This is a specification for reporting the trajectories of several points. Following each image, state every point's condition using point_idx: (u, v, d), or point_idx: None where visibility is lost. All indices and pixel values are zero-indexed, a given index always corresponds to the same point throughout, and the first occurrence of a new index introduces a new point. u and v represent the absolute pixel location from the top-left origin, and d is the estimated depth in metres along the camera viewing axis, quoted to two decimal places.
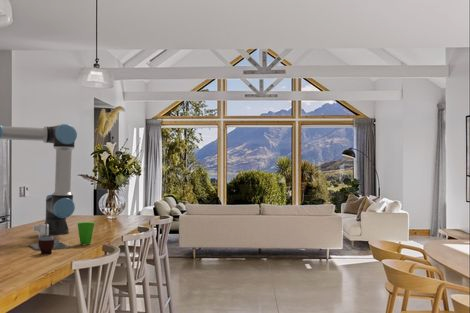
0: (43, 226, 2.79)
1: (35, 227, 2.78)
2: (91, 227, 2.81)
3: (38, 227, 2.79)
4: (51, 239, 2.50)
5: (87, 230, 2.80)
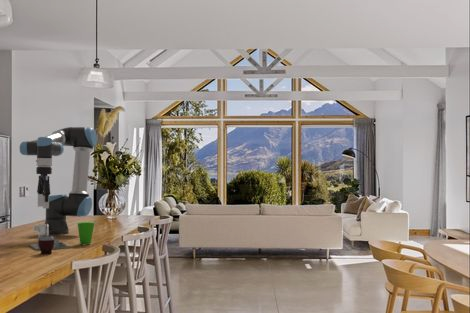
0: (43, 226, 2.79)
1: (35, 227, 2.78)
2: (91, 227, 2.81)
3: (38, 227, 2.79)
4: (51, 239, 2.50)
5: (87, 230, 2.80)
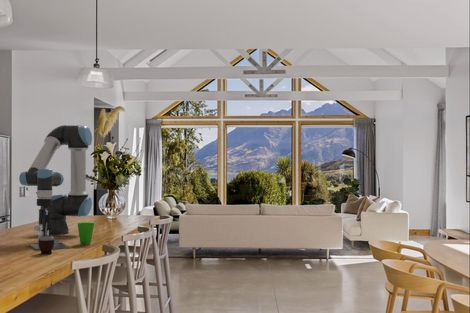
0: None
1: (35, 227, 2.78)
2: (91, 227, 2.81)
3: (38, 227, 2.79)
4: (51, 239, 2.50)
5: (87, 230, 2.80)
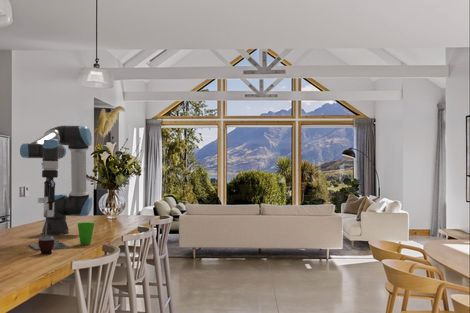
0: None
1: (40, 199, 2.68)
2: (91, 227, 2.81)
3: (43, 199, 2.69)
4: (51, 239, 2.50)
5: (87, 230, 2.80)
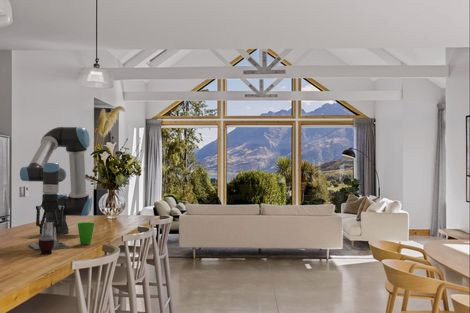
0: (54, 224, 2.69)
1: (50, 226, 2.66)
2: (91, 227, 2.81)
3: (51, 226, 2.67)
4: (51, 239, 2.50)
5: (87, 230, 2.80)
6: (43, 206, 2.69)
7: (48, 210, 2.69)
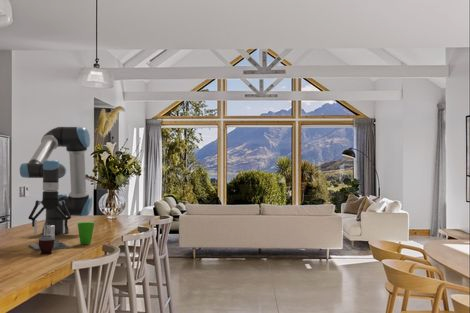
0: (54, 227, 2.70)
1: (50, 229, 2.66)
2: (91, 227, 2.81)
3: (51, 228, 2.67)
4: (51, 239, 2.50)
5: (87, 230, 2.80)
6: (43, 203, 2.69)
7: (48, 207, 2.70)
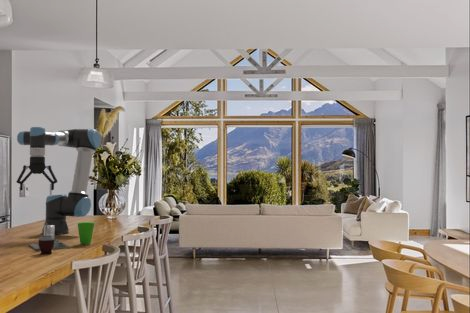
0: (54, 227, 2.69)
1: (50, 229, 2.66)
2: (91, 227, 2.81)
3: (51, 228, 2.67)
4: (51, 239, 2.50)
5: (87, 230, 2.80)
6: (30, 168, 2.83)
7: (35, 172, 2.84)
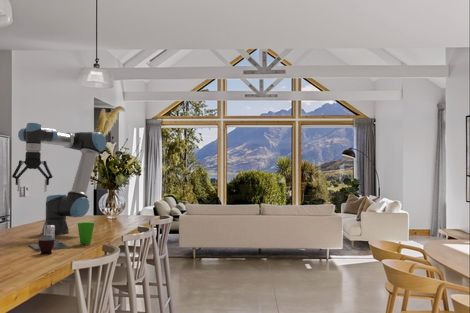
0: (54, 227, 2.70)
1: (51, 229, 2.66)
2: (91, 227, 2.81)
3: (51, 228, 2.67)
4: (51, 239, 2.50)
5: (87, 230, 2.80)
6: (26, 163, 2.88)
7: (31, 167, 2.88)
